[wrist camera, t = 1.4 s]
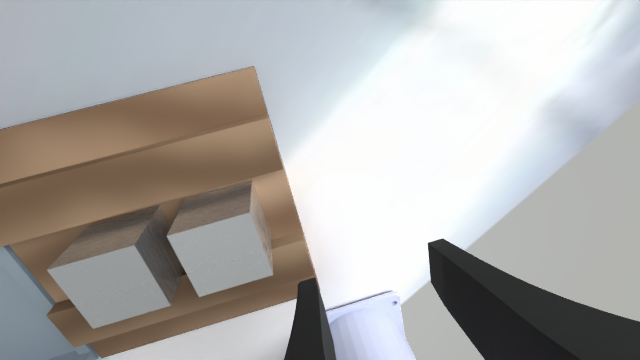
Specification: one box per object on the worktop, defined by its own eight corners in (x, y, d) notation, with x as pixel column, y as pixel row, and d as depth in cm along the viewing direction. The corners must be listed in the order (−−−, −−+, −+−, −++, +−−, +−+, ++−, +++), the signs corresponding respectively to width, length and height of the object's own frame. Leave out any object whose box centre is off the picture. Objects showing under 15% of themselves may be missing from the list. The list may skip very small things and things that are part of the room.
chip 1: (187, 257, 20) (170, 305, 16) (124, 275, 19) (93, 328, 16) (159, 205, 18) (134, 245, 14) (90, 224, 18) (46, 269, 14)
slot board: (317, 281, 24) (322, 301, 22) (108, 345, 22) (94, 371, 21) (254, 66, 17) (253, 68, 15) (-52, 142, 16) (-93, 154, 14)
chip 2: (271, 233, 20) (273, 274, 16) (210, 251, 20) (199, 297, 16) (251, 179, 18) (249, 212, 15) (185, 197, 18) (166, 236, 14)
